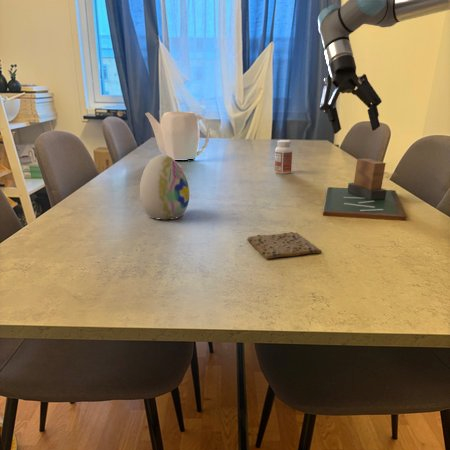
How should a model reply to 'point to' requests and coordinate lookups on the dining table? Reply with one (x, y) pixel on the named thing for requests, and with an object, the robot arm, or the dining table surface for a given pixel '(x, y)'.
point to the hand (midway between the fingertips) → (357, 130)
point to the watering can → (179, 134)
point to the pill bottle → (283, 157)
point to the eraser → (368, 180)
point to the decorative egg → (164, 188)
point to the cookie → (282, 245)
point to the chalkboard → (362, 205)
